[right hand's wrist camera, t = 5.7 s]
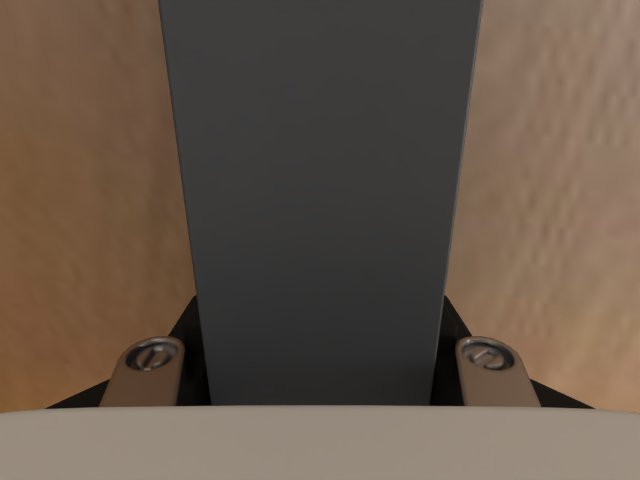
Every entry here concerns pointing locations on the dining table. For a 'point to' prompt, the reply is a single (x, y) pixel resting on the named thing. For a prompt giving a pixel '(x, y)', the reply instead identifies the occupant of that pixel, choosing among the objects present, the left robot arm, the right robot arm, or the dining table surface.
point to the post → (320, 189)
